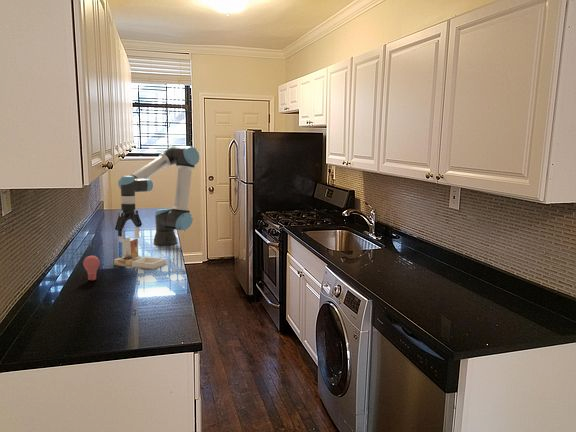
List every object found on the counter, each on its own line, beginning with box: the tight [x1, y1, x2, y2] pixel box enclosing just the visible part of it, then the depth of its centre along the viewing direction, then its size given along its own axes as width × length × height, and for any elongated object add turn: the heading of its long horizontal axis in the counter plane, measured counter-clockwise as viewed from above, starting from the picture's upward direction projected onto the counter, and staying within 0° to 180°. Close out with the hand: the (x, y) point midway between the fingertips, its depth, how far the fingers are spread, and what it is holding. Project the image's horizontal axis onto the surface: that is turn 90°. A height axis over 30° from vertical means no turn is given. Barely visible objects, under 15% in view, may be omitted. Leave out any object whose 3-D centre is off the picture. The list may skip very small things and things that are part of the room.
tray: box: [131, 256, 167, 271], centre depth 236 cm, size 12×13×3 cm
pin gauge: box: [123, 237, 131, 260], centre depth 238 cm, size 3×3×14 cm
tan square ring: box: [113, 255, 142, 268], centre depth 239 cm, size 10×10×3 cm
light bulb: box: [82, 255, 100, 281], centre depth 208 cm, size 7×7×12 cm
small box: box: [121, 237, 139, 257], centre depth 252 cm, size 8×6×10 cm
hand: (129, 239), depth 251 cm, fingers open, 13 cm apart
